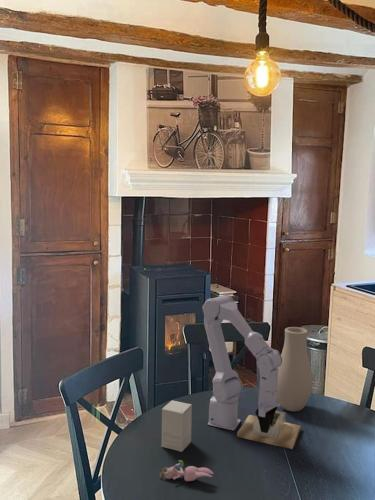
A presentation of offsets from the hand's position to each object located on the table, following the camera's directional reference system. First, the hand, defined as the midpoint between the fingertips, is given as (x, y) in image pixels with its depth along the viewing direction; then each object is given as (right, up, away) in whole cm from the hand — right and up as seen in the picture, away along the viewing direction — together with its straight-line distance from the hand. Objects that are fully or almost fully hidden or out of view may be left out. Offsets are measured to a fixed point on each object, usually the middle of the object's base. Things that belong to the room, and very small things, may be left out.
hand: (266, 428), depth 164 cm
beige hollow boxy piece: (+2, -2, +5) cm, 6 cm away
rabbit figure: (-26, -7, -22) cm, 35 cm away
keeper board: (+2, -3, +5) cm, 7 cm away
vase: (+13, -1, +24) cm, 28 cm away
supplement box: (-29, -4, -3) cm, 29 cm away
